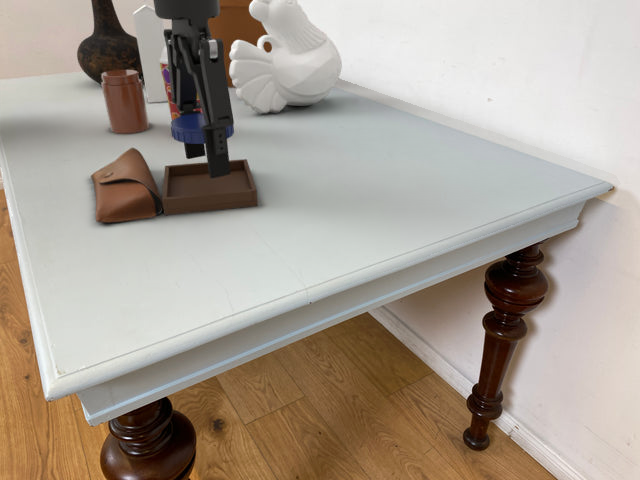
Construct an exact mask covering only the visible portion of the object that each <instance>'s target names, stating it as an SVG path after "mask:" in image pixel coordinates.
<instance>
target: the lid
mask: <svg viewBox="0 0 640 480" xmlns="http://www.w3.org/2000/svg"><path fill="white" fill-rule="evenodd" d="M204 125H206V123H205V119H204V115H203V113H194V114H188V115H183V116H180V117H177V118H175V119H173V120H172V119H171V121H170V130H171V137H172V138H173V139H174V140H175V141H177V142H179V143H183V144H184V143H189V144H204V145H205V138H204V131H202V130H201V127H202V126H204ZM234 127H235V126H234V124H233V125H232V126H228V127H226V134H227V140H228V139H229V138H231V137H232V136H234V134H235V129H234Z"/></svg>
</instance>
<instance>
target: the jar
mask: <svg viewBox="0 0 640 480" xmlns="http://www.w3.org/2000/svg"><path fill="white" fill-rule="evenodd" d="M101 75H102V77H101V78H102V80H103V82H101V84H100V86H101V90H102V94H103V100H104V103H105V109H106V113H107V118H108V122H109V126H110V131H111V132H112V133H114V134H123V135H124V134H125V135H128V134H137V133H142V132H145V131H147V130H148V129H150V122H149V117H148V110H147V104H146V99H145V93H144V88H143V82H142V79H139V78H138V72H137V71H135V70H113V71H107V72H104V73H102V74H101Z"/></svg>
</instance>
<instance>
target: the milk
mask: <svg viewBox="0 0 640 480" xmlns="http://www.w3.org/2000/svg"><path fill="white" fill-rule="evenodd" d="M132 19H133V25H134V30H135V35H136V36H135V37H136V38H137V42H138V47H139V53H140V59H141V64H142V70H143V80H144V86H145V92H146V97H147V98H146V99H147V102H148V103H150V104H151V103H165V102H167V103H168V99H167V95H166V90H165V85H164V81H163V76H162V72H161V67H160V62H159V58H160V56H161V52H162V49H163V47H164V45H165V44H166V42H165V37H164V34H163V33H164V29H165V27H164V23H163V22H164V21H163V19H161V18H159V17H158V16H157V15H156V13H155V7H153V6H151V5H150V4H148V3H147V0H144V5H142V6H141V7H139V8H138V9H136V10H135V11H134V12H133V13H132Z"/></svg>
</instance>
